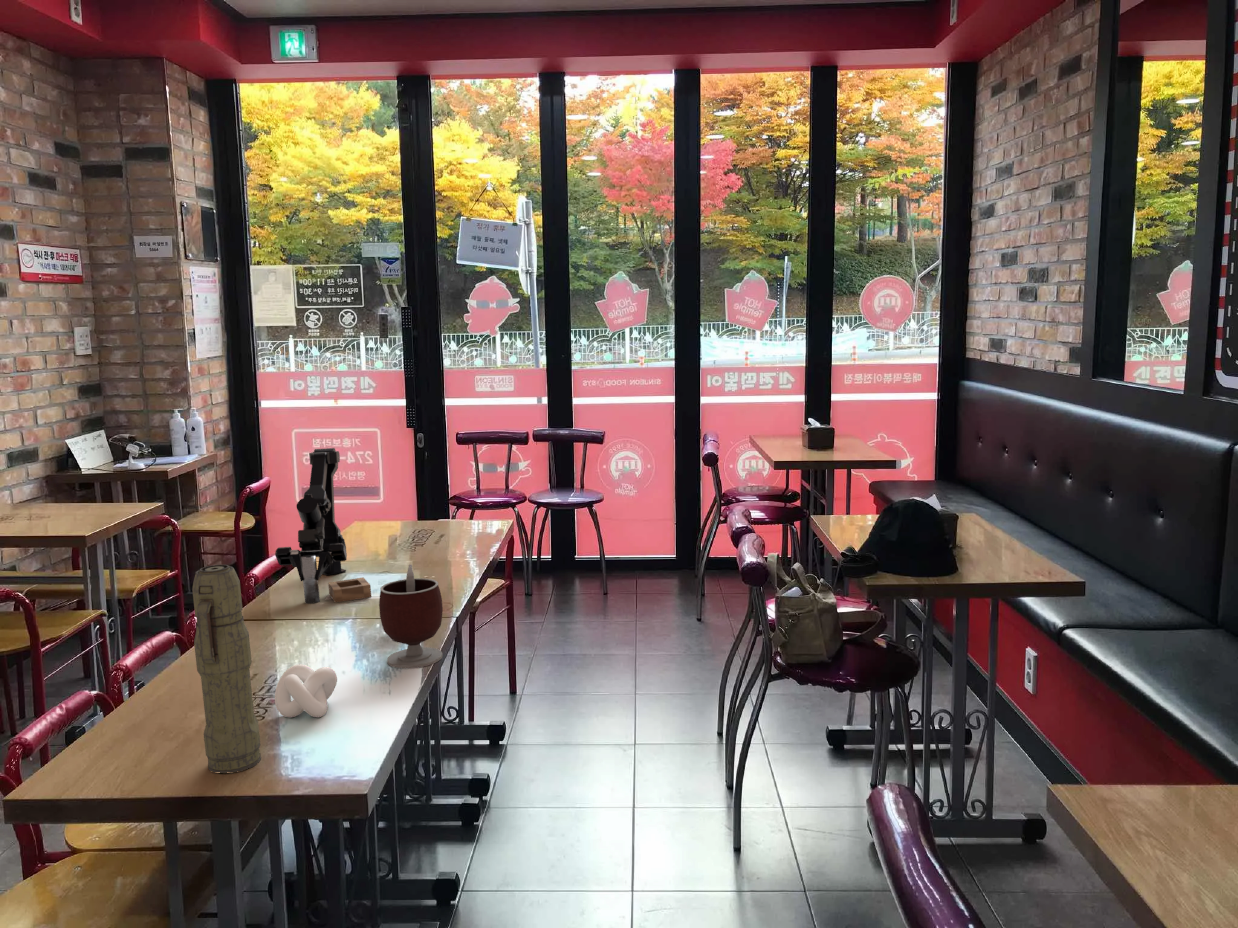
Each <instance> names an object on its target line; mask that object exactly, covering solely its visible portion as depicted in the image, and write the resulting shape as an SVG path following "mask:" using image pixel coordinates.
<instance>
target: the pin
mask: <svg viewBox="0 0 1238 928" xmlns="http://www.w3.org/2000/svg"><path fill="white" fill-rule="evenodd" d="M301 565H302V576H303V581H302V584H303V596H304V604H308V605H309V604H310V605H311V604H316V603H319V602H320V601H321V599H320V590H319V580H317V579H316V576H317V568H318V564H317V557H316V555H305V556H302V557H301Z"/></svg>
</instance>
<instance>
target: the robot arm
mask: <svg viewBox="0 0 1238 928" xmlns="http://www.w3.org/2000/svg"><path fill="white" fill-rule="evenodd" d="M308 455H309V464H310V465H311V468H310V469H311V471H310V479H309V487H308V489H307V490H306V491H305V492H304V493H303V496H302V497H303V498H301V499H300V500H298V502H297V503H296V510H297V512H298V515H299V518H300V521H301V522H302V523H303V527H302V529H299V530H297V532H298V533H297V542H298V547H299V549H292V547H291V546H282V547H277V549H276V550H275V554H274V555H275V557H276V561H277V563H278V565H279V566H282V567H283V566H292V567H294V568H296V569H297V573H298V576H299V580H300V582H303V576H302V565H301V557H302V556H305V555H316V558H318V564H317V576H316V579H317V580H318V581H319V580H320V579H321V577H322V575H324V576H332V575H336V574H341V573H346V572H347V569H344V568H342V562H345V561H347V556H348V554H347V553H348V552H347V545H346V542H345V538H344V537H343V535H342V534H341V529H340V528H339V525H337V523H336V519H335V518H336V517H335V491H334V488H335V487H334V485H335V484H334V476H335V475H336V473H337V471H338V468H339V463H340V462H341V461H340V460H341V455H340V451H339V450H336V448H335V447H329V448H328V447H327V448H325V447H324V448H314V451H313V452H310V453H308Z"/></svg>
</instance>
